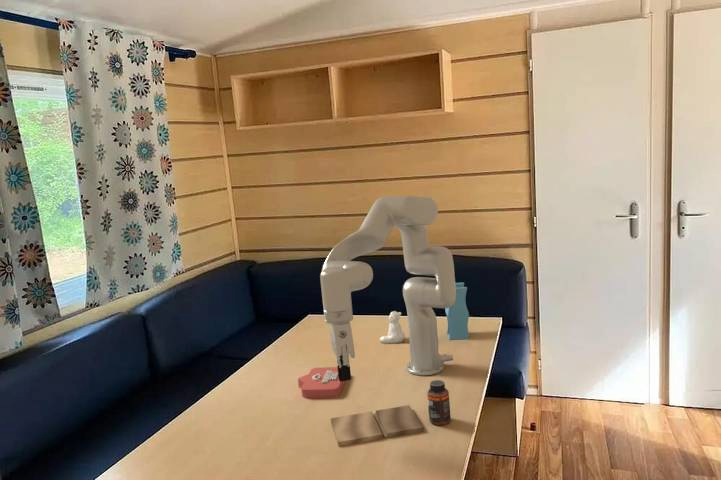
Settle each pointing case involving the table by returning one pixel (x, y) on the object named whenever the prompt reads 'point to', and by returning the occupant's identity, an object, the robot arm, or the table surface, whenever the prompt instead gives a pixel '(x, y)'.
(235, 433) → the table surface
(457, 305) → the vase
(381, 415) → the brown wooden board
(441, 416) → the supplement bottle
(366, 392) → the table surface
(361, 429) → the plank
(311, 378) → the plaque
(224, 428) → the table surface
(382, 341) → the white creature statuette
